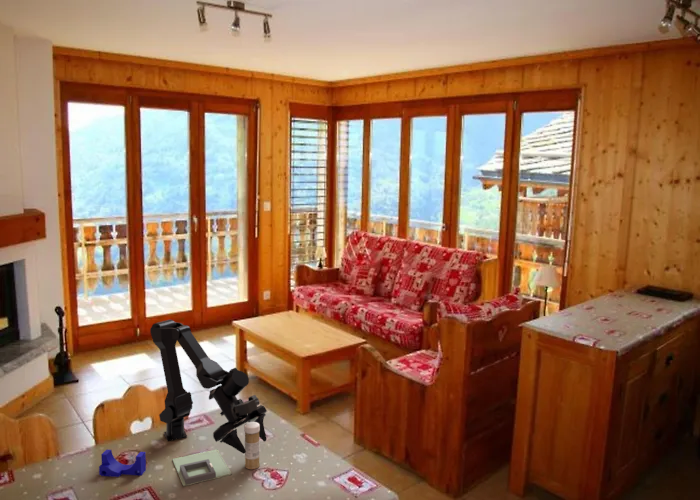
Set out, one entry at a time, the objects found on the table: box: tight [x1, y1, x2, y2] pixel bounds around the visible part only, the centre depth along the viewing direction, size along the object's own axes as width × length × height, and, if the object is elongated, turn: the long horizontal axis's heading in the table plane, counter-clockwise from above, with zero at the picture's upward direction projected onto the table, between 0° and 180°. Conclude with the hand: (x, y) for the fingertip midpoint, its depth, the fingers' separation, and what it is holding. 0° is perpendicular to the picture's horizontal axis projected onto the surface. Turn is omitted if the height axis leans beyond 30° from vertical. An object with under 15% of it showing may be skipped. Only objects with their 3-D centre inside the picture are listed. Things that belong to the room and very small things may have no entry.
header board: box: [172, 449, 232, 487], centre depth 169 cm, size 16×14×2 cm
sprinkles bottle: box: [243, 422, 261, 470], centre depth 169 cm, size 5×5×14 cm
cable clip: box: [98, 448, 147, 478], centre depth 164 cm, size 12×4×6 cm, turn 85°
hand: (255, 446), depth 169 cm, fingers open, 9 cm apart
